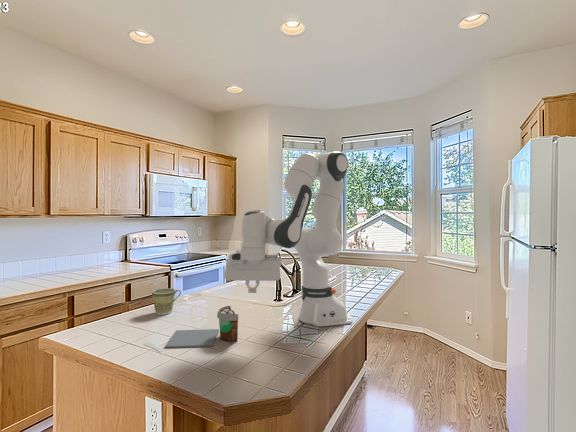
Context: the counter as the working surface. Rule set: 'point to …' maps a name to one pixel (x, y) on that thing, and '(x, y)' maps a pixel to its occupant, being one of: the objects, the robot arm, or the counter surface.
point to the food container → (228, 324)
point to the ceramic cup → (164, 300)
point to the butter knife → (152, 346)
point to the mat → (192, 338)
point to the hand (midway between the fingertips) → (252, 292)
